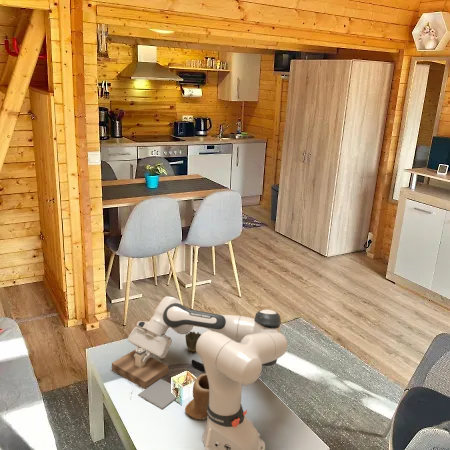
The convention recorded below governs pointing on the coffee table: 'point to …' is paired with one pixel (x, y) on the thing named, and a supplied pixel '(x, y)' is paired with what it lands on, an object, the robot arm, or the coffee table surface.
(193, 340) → the cup
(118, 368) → the wooden block with hole
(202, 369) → the electric trimmer
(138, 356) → the beige square peg
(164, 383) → the mat
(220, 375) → the robot arm
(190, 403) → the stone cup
